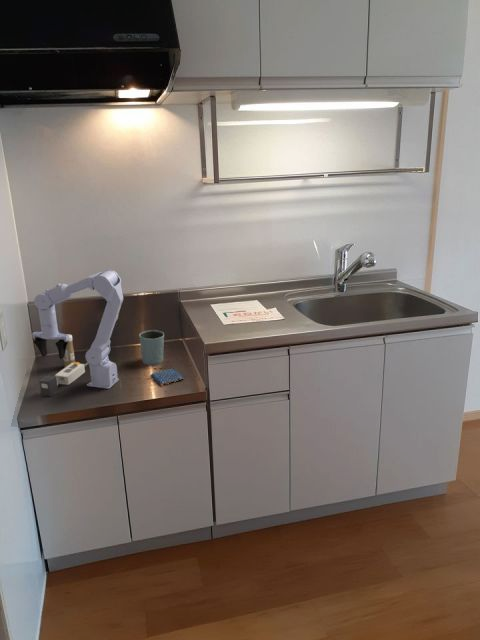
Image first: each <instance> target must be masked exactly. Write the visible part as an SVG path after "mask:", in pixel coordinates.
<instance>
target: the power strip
mask: <svg viewBox="0 0 480 640" xmlns="http://www.w3.org/2000/svg"><path fill="white" fill-rule="evenodd" d="M87 366H89V363H88V362H87V361H86V363H80V362H79V361H75V363H71V364H70V365H68V366H67V367H64V368H62V369H61V370H60V371H59V372H57V373H56V374H55V375H54V376H55V377H56V380H57V383H58V385H59V384H60V385H66V386H67V385H68V386H69V385H71V383H73V382H74V381H76V380H77V379H78V378H79V377H81V376H82V375H83V374H84V373H86V370H85V369H86V367H87Z"/></svg>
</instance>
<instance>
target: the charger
mask: <svg viewBox="0 0 480 640" xmlns="http://www.w3.org/2000/svg"><path fill="white" fill-rule="evenodd" d="M38 383H39V389H40V394H41V396H45V397H46V396H47V397H52V396H53V395H55V394H56V393H57V392H58V391H59V388H58V385H59V384H58V383H57V380H56V377H55V375H53V376H52V375H45V376H43V378H41V379H39V380H38Z"/></svg>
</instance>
